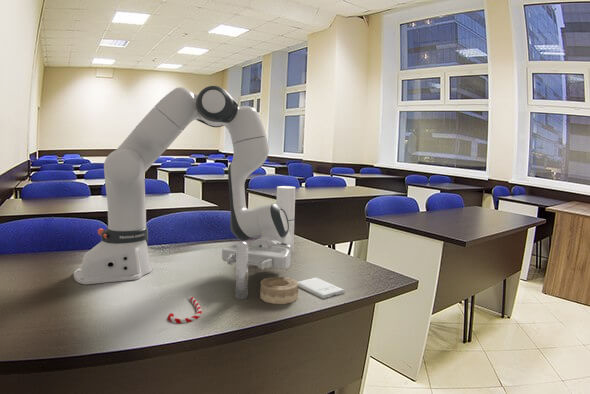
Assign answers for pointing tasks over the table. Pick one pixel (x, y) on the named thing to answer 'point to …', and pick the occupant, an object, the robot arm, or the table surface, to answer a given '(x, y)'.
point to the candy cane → (190, 319)
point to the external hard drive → (320, 287)
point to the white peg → (242, 270)
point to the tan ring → (279, 290)
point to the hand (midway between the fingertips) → (244, 263)
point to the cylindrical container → (287, 206)
